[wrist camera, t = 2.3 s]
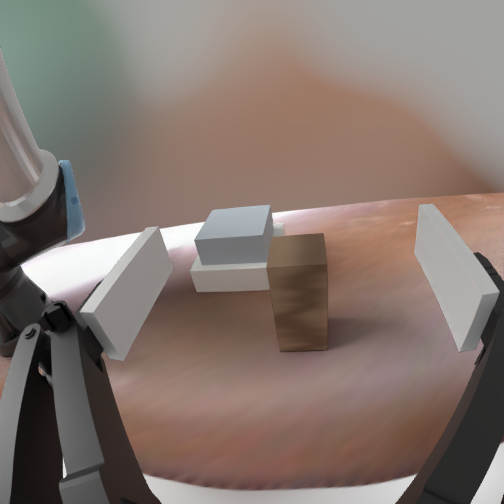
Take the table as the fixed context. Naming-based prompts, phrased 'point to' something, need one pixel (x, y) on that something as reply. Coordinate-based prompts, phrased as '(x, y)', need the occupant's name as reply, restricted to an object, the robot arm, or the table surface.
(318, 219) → the table surface
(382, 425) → the table surface
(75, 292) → the table surface
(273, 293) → the walnut block
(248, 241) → the tower top
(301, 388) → the table surface
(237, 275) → the tower base
